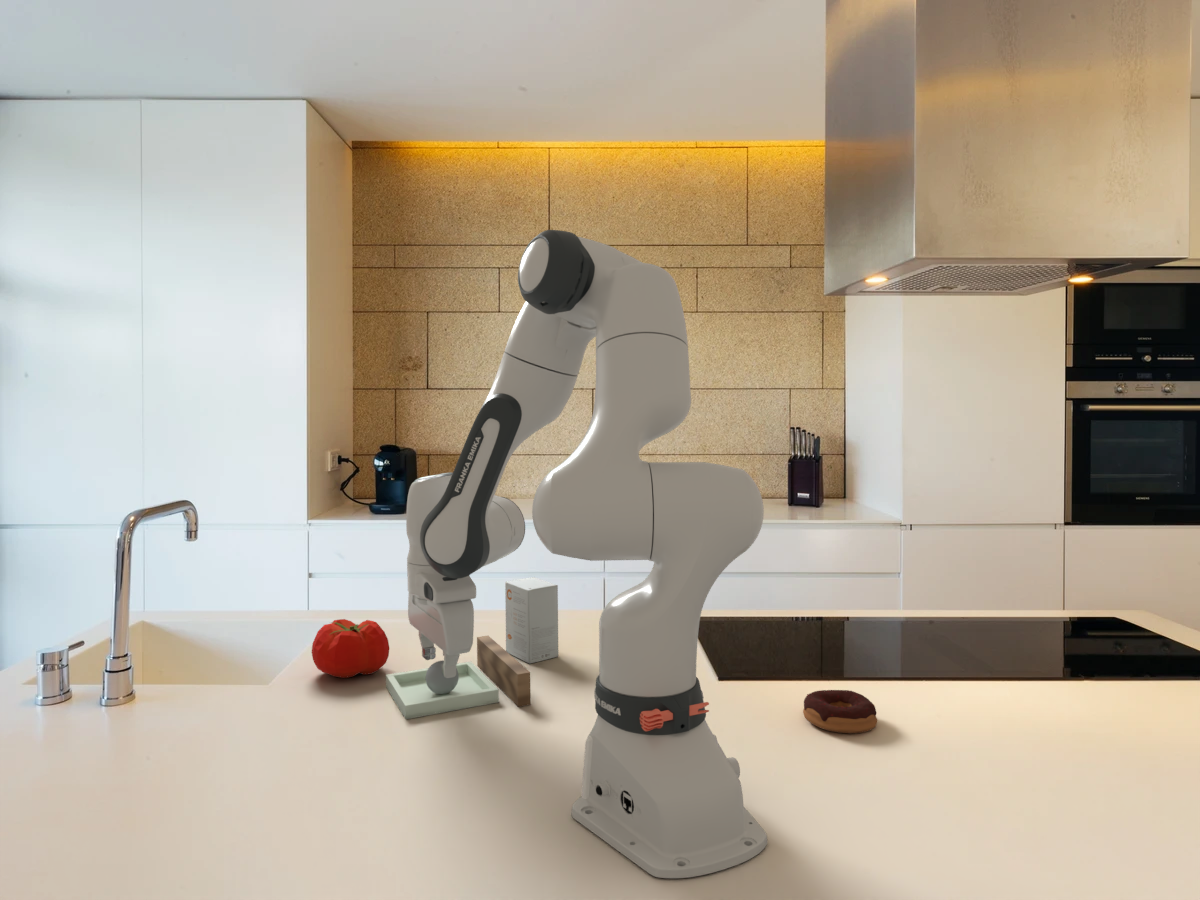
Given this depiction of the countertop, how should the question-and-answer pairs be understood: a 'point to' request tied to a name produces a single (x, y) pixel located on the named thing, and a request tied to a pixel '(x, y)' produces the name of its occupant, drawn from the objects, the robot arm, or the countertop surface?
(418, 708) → the dish
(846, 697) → the donut
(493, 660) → the rail
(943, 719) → the countertop surface
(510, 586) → the small box
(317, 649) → the tomato
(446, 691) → the ball
